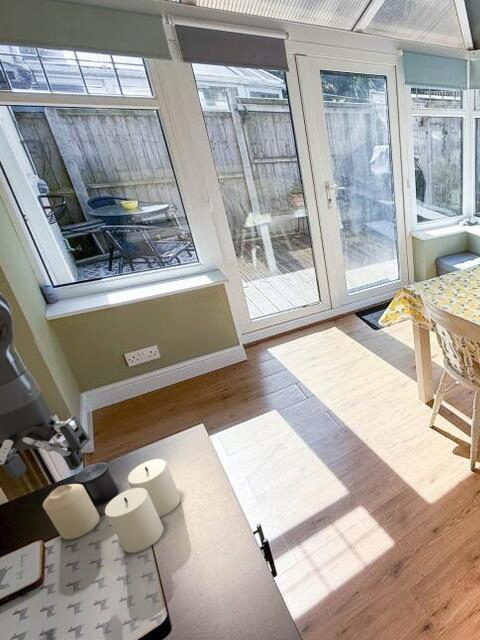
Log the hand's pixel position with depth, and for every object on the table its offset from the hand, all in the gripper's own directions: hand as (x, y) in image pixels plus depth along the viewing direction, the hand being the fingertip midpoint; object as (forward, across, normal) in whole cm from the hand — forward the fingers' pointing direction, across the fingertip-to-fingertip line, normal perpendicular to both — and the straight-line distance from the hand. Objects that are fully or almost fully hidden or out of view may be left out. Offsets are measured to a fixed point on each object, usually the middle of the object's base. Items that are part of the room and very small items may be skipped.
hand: (49, 470), depth 75 cm
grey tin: (+15, 0, -7) cm, 17 cm away
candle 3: (+15, -13, +5) cm, 21 cm away
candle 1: (+15, 0, 0) cm, 16 cm away
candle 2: (+15, -13, -2) cm, 20 cm away
